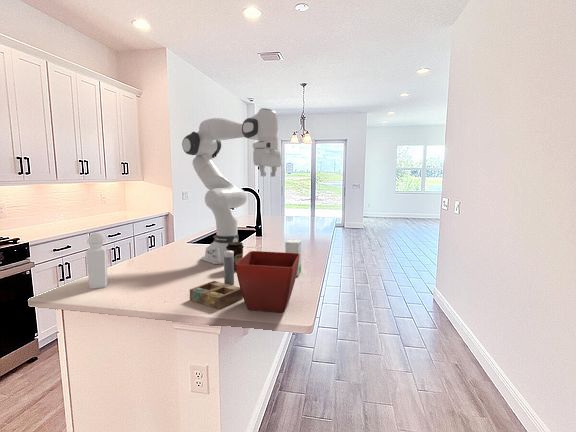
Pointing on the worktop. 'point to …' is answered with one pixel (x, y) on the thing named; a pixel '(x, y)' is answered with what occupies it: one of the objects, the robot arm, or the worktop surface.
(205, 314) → the worktop surface
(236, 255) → the coffee cup
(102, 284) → the white bottle
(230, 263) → the grey cylinder
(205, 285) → the socket deck
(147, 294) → the worktop surface
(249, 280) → the plant pot
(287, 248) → the skincare box
